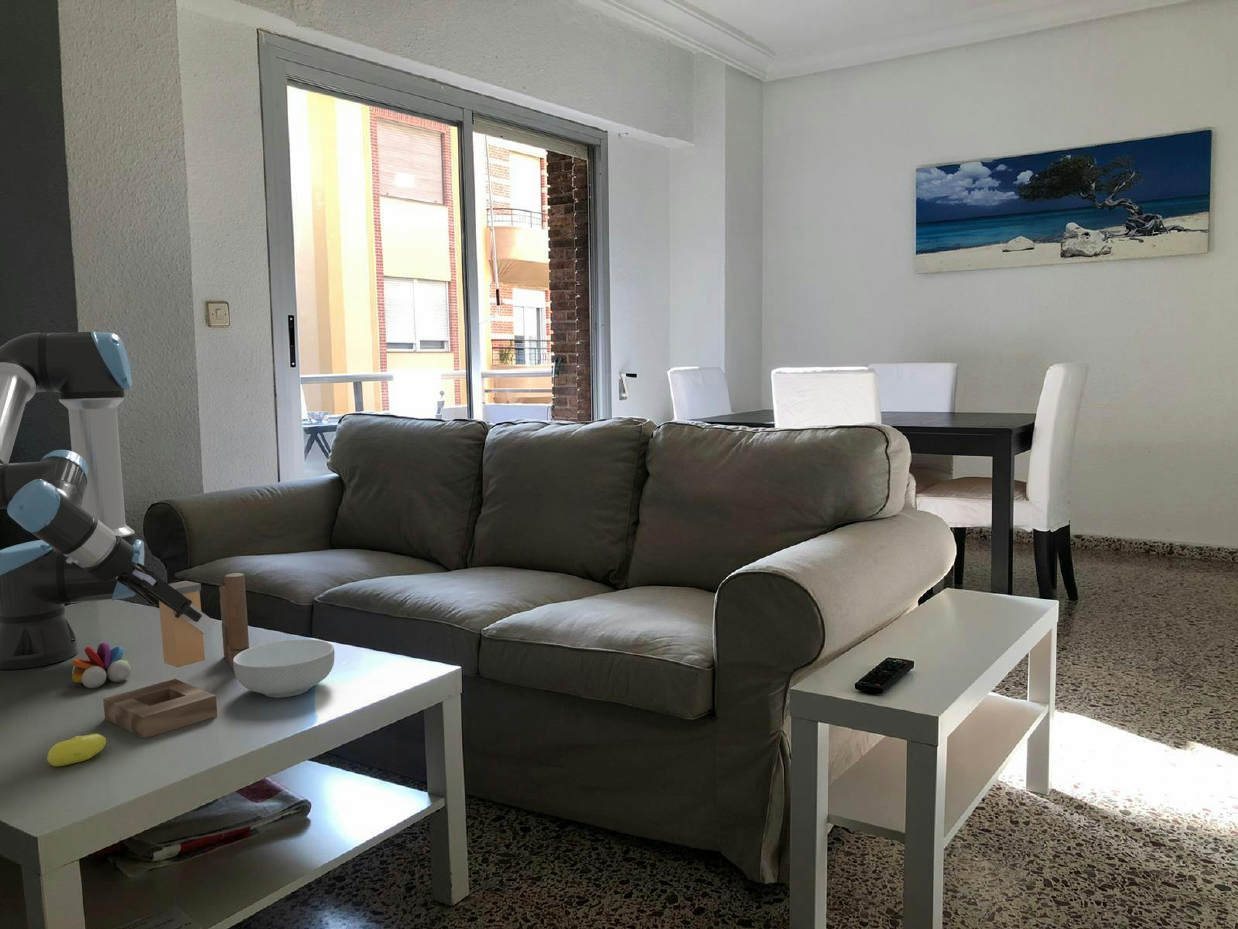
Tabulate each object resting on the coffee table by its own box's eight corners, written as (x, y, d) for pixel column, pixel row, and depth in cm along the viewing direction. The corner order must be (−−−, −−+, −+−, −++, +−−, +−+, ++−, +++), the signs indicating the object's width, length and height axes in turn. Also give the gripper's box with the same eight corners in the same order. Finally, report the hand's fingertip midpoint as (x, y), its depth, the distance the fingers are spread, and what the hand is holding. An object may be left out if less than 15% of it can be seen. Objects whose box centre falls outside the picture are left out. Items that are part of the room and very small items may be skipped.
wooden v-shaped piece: (242, 653, 193) (236, 565, 191) (252, 667, 184) (246, 575, 182) (223, 656, 192) (217, 567, 189) (232, 671, 182) (225, 577, 180)
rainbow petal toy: (65, 683, 178) (62, 645, 177) (120, 670, 185) (118, 633, 184) (82, 693, 172) (78, 654, 171) (138, 679, 179) (135, 641, 178)
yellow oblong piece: (44, 765, 141) (41, 740, 141) (103, 749, 147) (101, 724, 146) (52, 774, 138) (49, 748, 138) (112, 757, 144) (110, 732, 143)
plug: (162, 663, 173) (156, 586, 171) (191, 655, 177) (185, 580, 176) (177, 667, 169) (170, 589, 168) (206, 660, 174) (200, 583, 172)
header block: (104, 719, 159) (103, 698, 158) (176, 698, 168) (175, 678, 168) (143, 739, 150) (142, 717, 149) (217, 715, 159) (215, 695, 159)
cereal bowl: (341, 671, 181) (339, 635, 180) (330, 702, 164) (328, 662, 164) (246, 678, 178) (243, 641, 177) (225, 711, 161) (222, 670, 161)
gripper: (62, 563, 165) (164, 635, 179) (108, 576, 154) (213, 651, 168) (92, 528, 169) (190, 601, 183) (139, 538, 157) (240, 615, 172)
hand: (201, 625), depth 175 cm, fingers closed on plug, 5 cm apart
